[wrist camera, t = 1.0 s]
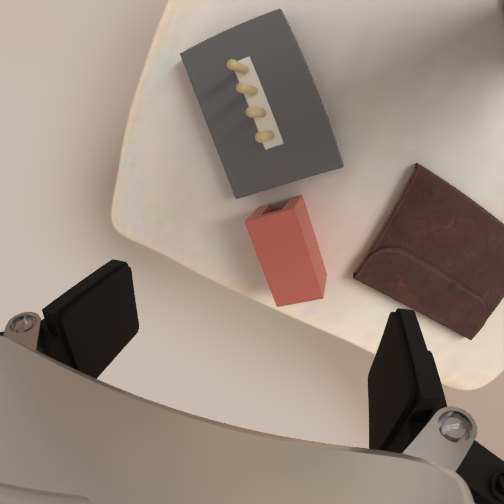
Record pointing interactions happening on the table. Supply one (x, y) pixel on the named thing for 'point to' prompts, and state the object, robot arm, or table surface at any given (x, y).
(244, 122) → the board
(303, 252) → the block
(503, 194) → the table surface
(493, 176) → the table surface
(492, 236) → the notebook
